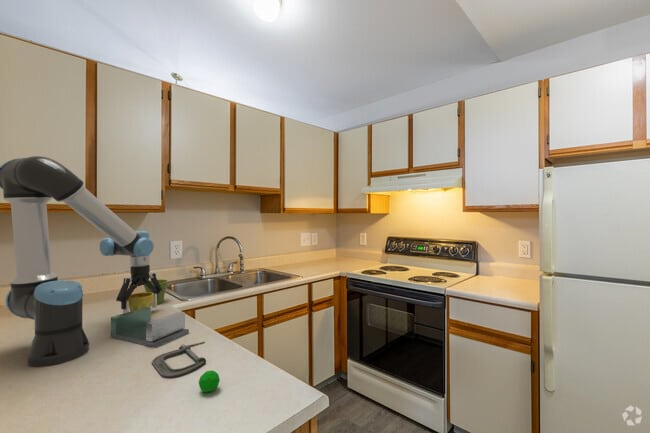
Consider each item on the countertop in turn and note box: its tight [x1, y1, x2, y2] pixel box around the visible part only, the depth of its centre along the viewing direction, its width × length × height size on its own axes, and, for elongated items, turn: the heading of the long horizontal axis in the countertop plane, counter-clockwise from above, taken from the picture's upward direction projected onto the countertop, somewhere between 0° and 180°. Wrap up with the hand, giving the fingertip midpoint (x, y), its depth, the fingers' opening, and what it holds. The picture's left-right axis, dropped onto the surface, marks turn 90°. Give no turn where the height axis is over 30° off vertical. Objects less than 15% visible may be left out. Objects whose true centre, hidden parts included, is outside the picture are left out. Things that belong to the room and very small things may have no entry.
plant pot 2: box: [143, 278, 169, 305], centre depth 159 cm, size 12×12×11 cm
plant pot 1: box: [127, 291, 153, 312], centre depth 137 cm, size 10×10×10 cm
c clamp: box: [151, 341, 207, 379], centre depth 95 cm, size 20×17×3 cm
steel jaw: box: [146, 311, 186, 341], centre depth 111 cm, size 14×3×6 cm, turn 157°
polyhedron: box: [198, 369, 221, 393], centre depth 78 cm, size 5×5×5 cm
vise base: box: [110, 307, 190, 349], centre depth 115 cm, size 14×24×8 cm, turn 67°
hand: (140, 311), depth 137 cm, fingers open, 13 cm apart
